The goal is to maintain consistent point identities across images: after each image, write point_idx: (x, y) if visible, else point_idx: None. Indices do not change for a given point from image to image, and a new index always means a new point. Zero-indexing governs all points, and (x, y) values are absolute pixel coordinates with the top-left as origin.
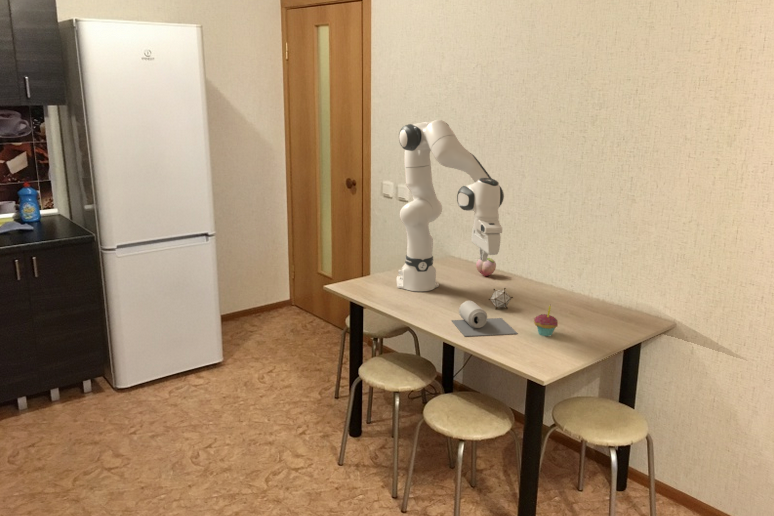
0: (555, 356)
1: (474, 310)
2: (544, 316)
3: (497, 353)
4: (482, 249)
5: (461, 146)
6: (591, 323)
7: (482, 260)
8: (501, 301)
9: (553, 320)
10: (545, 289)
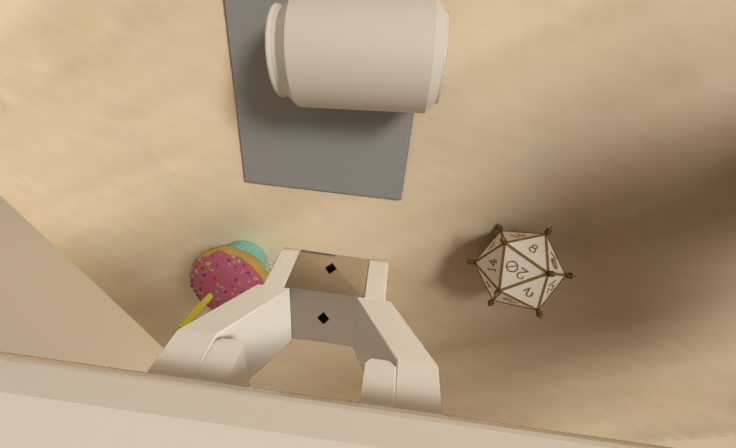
0: (71, 197)
1: (282, 32)
2: (214, 288)
3: (47, 11)
4: (74, 375)
5: None
6: (312, 380)
7: (281, 252)
8: (486, 256)
9: (200, 298)
10: (593, 423)
